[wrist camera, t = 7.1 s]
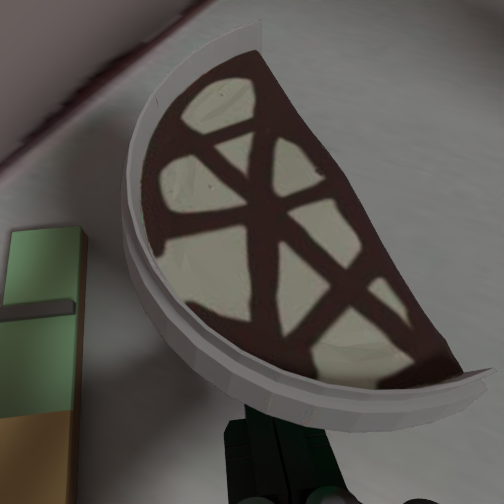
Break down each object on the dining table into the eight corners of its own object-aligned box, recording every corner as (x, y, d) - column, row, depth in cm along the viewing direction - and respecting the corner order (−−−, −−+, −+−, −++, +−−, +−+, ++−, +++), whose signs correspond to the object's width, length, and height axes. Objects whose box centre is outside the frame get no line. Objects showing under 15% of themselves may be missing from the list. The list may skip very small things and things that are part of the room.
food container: (129, 235, 21) (48, 60, 12) (246, 193, 22) (253, 7, 13) (227, 504, 16) (215, 556, 7) (370, 432, 17) (515, 396, 8)
